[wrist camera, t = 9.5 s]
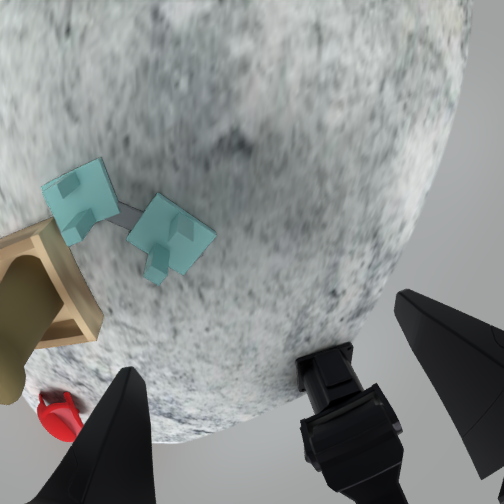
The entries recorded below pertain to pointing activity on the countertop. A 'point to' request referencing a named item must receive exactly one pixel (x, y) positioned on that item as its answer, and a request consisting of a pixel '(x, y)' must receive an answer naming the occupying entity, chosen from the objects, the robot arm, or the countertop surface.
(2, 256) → the shallow tan tray
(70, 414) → the red toy chair
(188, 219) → the clip
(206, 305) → the countertop surface
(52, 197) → the clip
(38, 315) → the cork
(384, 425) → the robot arm
